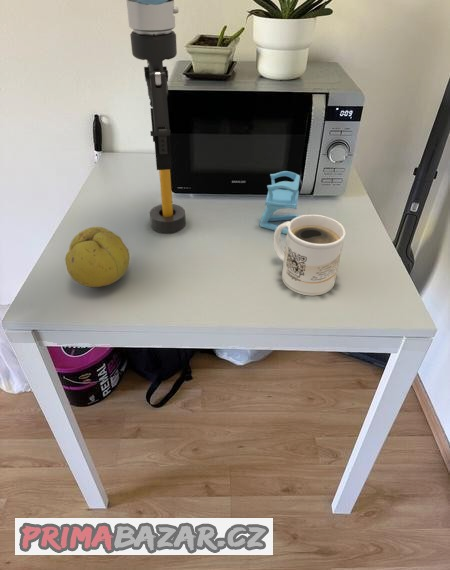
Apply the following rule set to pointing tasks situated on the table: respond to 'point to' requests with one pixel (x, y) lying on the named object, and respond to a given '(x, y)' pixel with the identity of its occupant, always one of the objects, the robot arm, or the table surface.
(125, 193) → the table surface
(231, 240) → the table surface
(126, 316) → the table surface
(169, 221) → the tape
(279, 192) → the chair
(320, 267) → the mug
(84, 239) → the fruit
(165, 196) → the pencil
